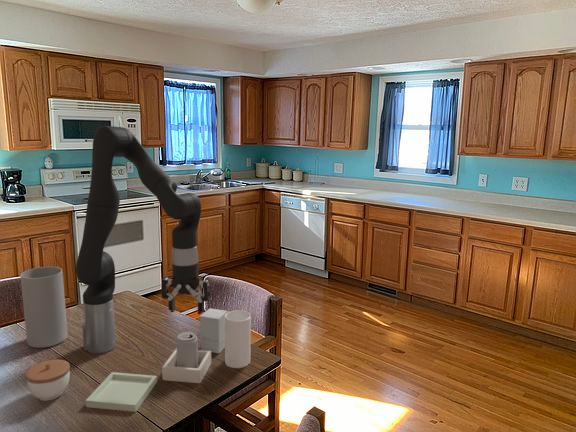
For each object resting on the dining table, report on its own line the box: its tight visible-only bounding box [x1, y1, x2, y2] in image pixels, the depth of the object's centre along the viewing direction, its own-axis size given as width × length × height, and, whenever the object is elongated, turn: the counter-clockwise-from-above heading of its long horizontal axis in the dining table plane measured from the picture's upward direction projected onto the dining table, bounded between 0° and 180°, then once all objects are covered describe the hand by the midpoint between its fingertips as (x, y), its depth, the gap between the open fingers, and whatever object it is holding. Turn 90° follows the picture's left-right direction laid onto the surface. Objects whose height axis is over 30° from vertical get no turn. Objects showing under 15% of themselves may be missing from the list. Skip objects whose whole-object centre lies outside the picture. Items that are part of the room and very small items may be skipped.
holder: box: [161, 347, 212, 384], centre depth 134 cm, size 12×12×4 cm
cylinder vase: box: [19, 266, 69, 349], centre depth 149 cm, size 12×12×25 cm
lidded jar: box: [25, 359, 71, 402], centre depth 120 cm, size 11×11×9 cm
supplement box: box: [199, 308, 229, 354], centre depth 148 cm, size 7×7×13 cm
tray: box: [85, 371, 158, 413], centre depth 122 cm, size 14×14×2 cm
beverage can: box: [175, 331, 199, 368], centre depth 133 cm, size 6×6×12 cm
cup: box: [224, 309, 252, 369], centre depth 139 cm, size 8×8×16 cm
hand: (186, 312), depth 131 cm, fingers open, 8 cm apart
